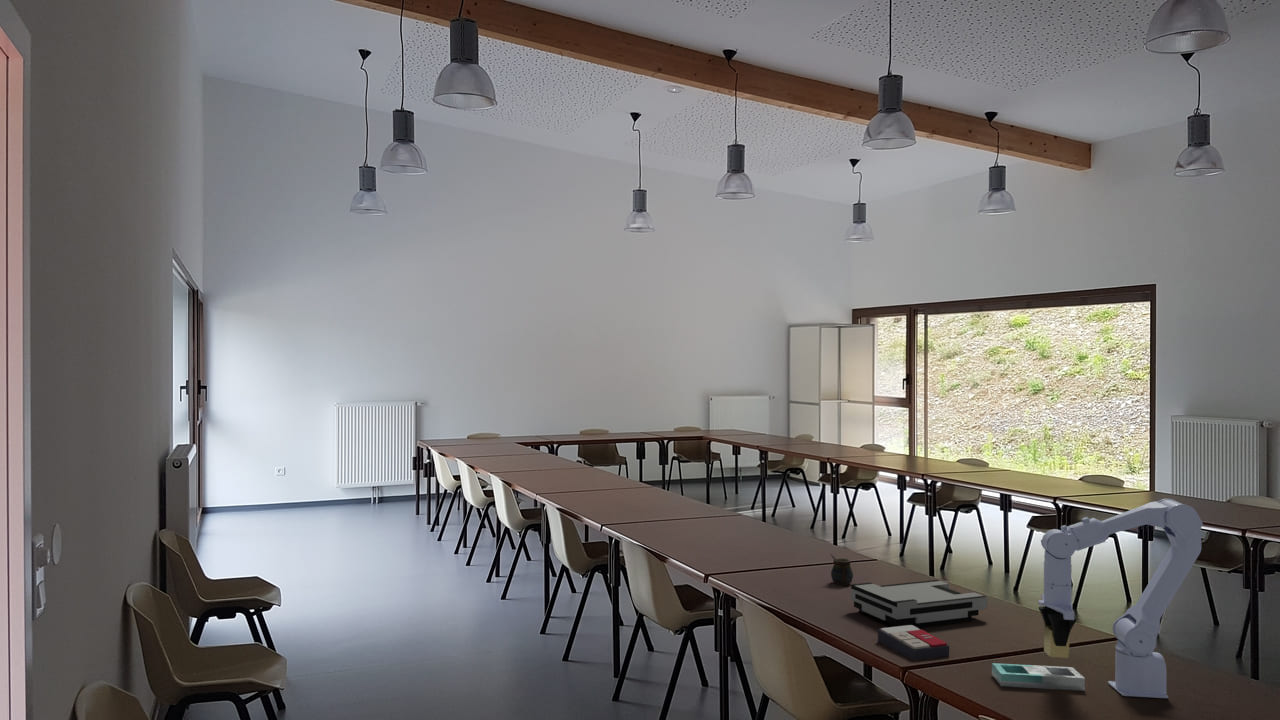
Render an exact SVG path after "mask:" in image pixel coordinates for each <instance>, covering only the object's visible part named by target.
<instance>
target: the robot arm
mask: <svg viewBox="0 0 1280 720" xmlns="http://www.w3.org/2000/svg"><path fill="white" fill-rule="evenodd" d="M1203 524H1204V523H1203V521H1202V520H1201V517H1200V516H1199V513H1198V512H1197V510H1196V509H1195V508H1194V507H1192V506H1191V505H1188V504H1185V503H1184V504H1183V503H1182V502H1179V501H1177V500H1175V499H1173V498H1163V499H1159V500H1158V501H1156V500H1155V501H1150V502H1148V503H1144V504H1143V505H1140V506H1138V507H1135V508H1133V509H1130V510H1127V511H1124V512H1122V513H1120V514H1117V515H1114V516H1111V517H1108V518H1106V519H1104V520H1099V519H1097V518H1095V517H1092V518H1089V517H1087V516H1085V517H1082V518H1081V521H1080V522H1076V523H1074V524H1073V523H1072V524H1070V525H1068V526H1067V525H1066V524H1064V525H1061V526H1060V529H1056V528H1053V529H1049V530H1047V531H1045V534H1043V536H1042V539H1040V543H1041V546H1042V548H1043V550H1044V561H1043V593H1041V600H1040V599H1039V600H1037V604H1038V605H1039V606H1038V610H1039V612H1040V614H1041V616H1042V618H1043V623H1044V625H1051V626H1052V627H1053V634H1054V641H1055V645H1056V646H1066V644H1067V641H1068V637H1069V638H1070V634H1071V630H1072V629H1073V627H1074V625H1075V624H1076V622H1077V621H1078V620H1077V617H1076V616H1075V611H1074V609H1073V603H1072V556H1073V555H1074V554H1075V552H1078V551H1081V550H1085V549H1087V548H1090V547H1093V546H1097V545H1100V544H1102V543H1106V541H1107V539H1108V538H1109V536H1111V535H1113V534H1116V533H1121V532H1123V531H1127V530H1130V529H1133V528H1134V529H1135V528H1138V527H1141V526H1145V525H1146V526H1147V525H1149V526H1152V527H1157V528H1161V529H1163V530H1164V532H1165V535H1166V536H1167V538H1168V541H1169V543H1170V547H1169V548H1168V551H1166V554H1165V555H1164V557H1163V558H1162V561H1161V562H1160V564H1159V565H1158V567H1157V568H1156V570H1155V571H1154V574H1153V575H1152V577H1151V579H1150V580H1149V581H1148V584H1147V585H1146V587H1145V588H1144V590H1143V592H1141V593H1142V594H1141V595H1140V597H1139V599H1138V600H1137V602H1136V603H1135V604H1134V605H1133V606H1131V607H1129V608H1127V610H1126V611H1125V613H1124V614H1123V615H1121V616H1119V617H1118V618H1117V619H1116V620H1115V621H1114V622H1113V624H1112V631H1113V635H1114V636H1115V638H1116V639H1117V643H1116V644H1115V665H1114V666H1115V667H1114V668H1115V671H1114V672H1115V673H1114V675H1115V677H1114V678H1115V679H1114V680H1115V681H1114V680H1108V681H1107V684H1108V685H1110V686H1111V687H1112V688H1113V689H1114V690H1115V691H1116V692H1118V693H1119V694H1121V696H1123V697H1135V698H1136V697H1137V698H1152V699H1153V698H1154V699H1156V698H1157V699H1169V696H1168V695H1167V664H1166V661H1165V658H1164V656H1163V655H1162V654H1161V653H1160V652H1157V651H1156V652H1155V649H1156V647H1157V638H1158V635H1159V633H1160V631H1161V618H1162V616H1163V615H1164V613H1165V611H1166V610H1167V608H1168V607H1169V605H1170V603H1171V602H1172V600H1173V598H1174V597H1175V595H1176V593H1177V591H1178V590H1179V588H1180V587H1181V585H1182V583H1183V582H1184V580H1185V579H1186V577H1187V575H1188V574H1189V572H1190V570H1191V569H1192V567H1193V566H1194V564H1195V562H1196V561H1197V559H1198V557H1199V556H1200V554H1201V551H1202V547H1203V546H1202V532H1201V531H1202V527H1203Z"/></svg>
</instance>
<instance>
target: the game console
mask: <svg viewBox="0 0 1280 720" xmlns="http://www.w3.org/2000/svg"><path fill="white" fill-rule="evenodd" d="M850 584H851V585H850V600H851V601H853V607H854V608H855V609H859V610H858V612H860V613H862V614H863V615H864V614H865V615H867V616H869V617H871V618H874V617H876V618H878V619H880V620H882V621H885V622H887V624H888V625H890V627H897V626H907V625H913V626H915V627H917V628H919V629H920V628H921V629H922V628H929V627H937V626H944V625H945V626H946V625H953V624H960V623H968V622H972V621H973V618H972V617H974V616H975V617H976V616H979V610H987V609H988V596H986V595H983V594H980V593H977V592H968V593H967V592H966V593H965V592H964V593H962V592H960V591H956V590H954V589H953V590H952V589H951V588H950V583H947V582H944V581H941V580H938V579H932V580H924V581H923V580H922V581H912V582H904V583H902V582H901V583H894V584H884V585H882V584H881V585H877V584H875V583H873V582H862V583H861V582H860V583H853V584H852V583H850Z"/></svg>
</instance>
